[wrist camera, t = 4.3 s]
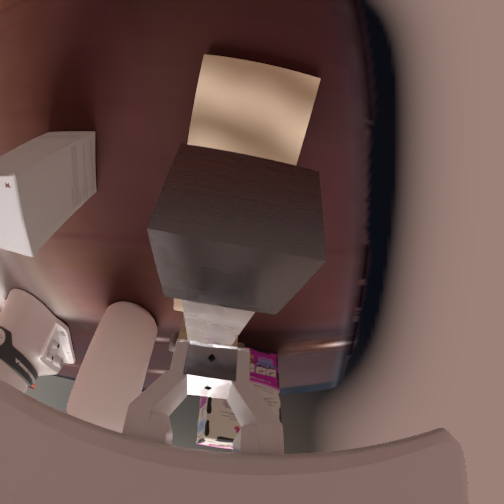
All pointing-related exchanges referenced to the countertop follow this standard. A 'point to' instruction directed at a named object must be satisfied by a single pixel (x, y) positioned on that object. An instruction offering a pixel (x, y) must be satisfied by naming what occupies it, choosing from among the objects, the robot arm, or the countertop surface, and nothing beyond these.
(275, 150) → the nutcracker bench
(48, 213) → the supplement box
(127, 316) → the alcohol
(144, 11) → the countertop surface
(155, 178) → the countertop surface
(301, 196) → the lever
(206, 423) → the candy bar box
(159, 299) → the countertop surface
